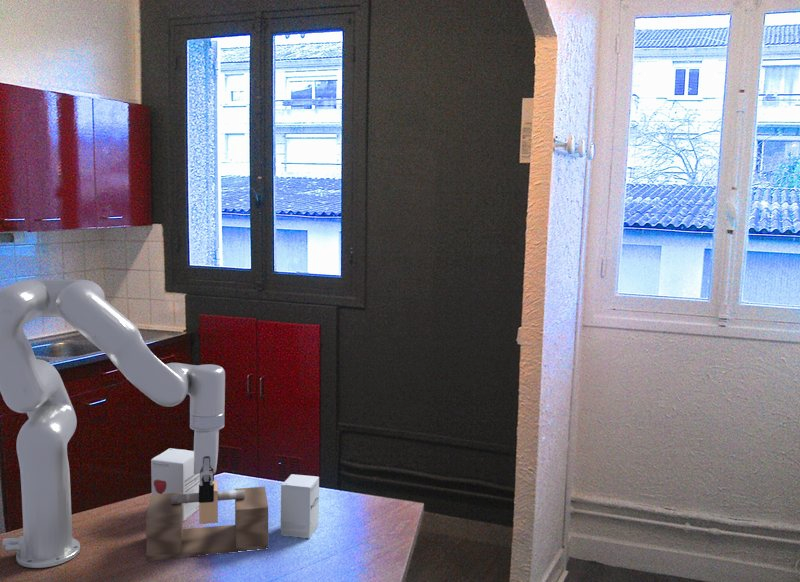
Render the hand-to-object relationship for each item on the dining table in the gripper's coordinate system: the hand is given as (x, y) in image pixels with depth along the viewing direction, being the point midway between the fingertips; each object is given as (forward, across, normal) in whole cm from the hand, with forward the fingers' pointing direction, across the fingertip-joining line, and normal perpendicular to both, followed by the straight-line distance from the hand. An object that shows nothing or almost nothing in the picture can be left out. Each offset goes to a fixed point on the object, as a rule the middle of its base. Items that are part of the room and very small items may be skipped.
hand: (206, 493), depth 166 cm
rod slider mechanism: (+12, 0, +1) cm, 12 cm away
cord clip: (+6, 0, 0) cm, 6 cm away
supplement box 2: (+12, -2, +22) cm, 25 cm away
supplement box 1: (+12, -18, -7) cm, 23 cm away
